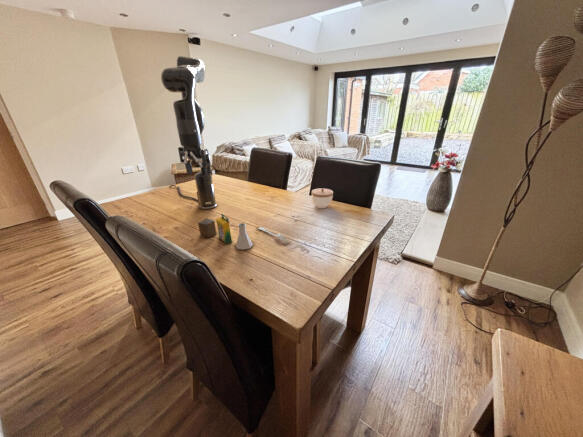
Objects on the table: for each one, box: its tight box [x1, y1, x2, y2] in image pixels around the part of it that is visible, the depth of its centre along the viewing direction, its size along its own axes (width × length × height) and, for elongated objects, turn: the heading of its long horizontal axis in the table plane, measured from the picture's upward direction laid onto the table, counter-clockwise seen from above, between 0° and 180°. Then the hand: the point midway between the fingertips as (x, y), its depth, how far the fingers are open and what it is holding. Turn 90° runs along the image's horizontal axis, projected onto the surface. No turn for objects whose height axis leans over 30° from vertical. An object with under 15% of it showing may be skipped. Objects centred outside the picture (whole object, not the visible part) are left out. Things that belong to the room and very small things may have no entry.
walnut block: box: [197, 218, 217, 239], centre depth 108 cm, size 5×5×7 cm
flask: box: [235, 222, 254, 251], centre depth 98 cm, size 7×7×10 cm
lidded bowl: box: [311, 187, 334, 209], centre depth 138 cm, size 13×13×11 cm
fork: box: [257, 226, 290, 245], centre depth 108 cm, size 3×21×3 cm, turn 43°
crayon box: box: [215, 213, 233, 245], centre depth 102 cm, size 7×3×12 cm, turn 39°
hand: (197, 174), depth 94 cm, fingers open, 8 cm apart
